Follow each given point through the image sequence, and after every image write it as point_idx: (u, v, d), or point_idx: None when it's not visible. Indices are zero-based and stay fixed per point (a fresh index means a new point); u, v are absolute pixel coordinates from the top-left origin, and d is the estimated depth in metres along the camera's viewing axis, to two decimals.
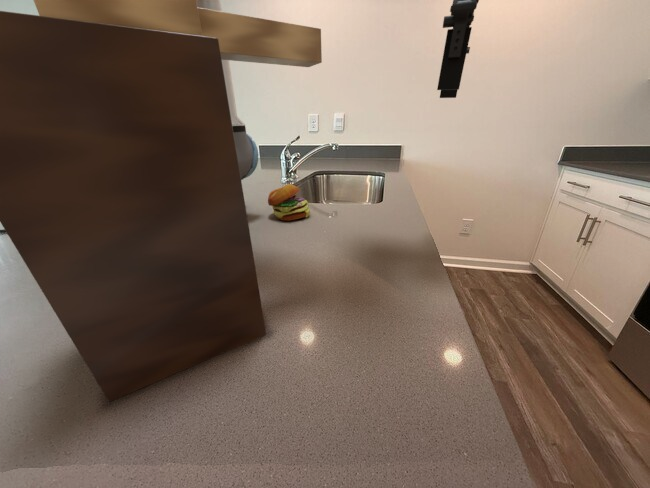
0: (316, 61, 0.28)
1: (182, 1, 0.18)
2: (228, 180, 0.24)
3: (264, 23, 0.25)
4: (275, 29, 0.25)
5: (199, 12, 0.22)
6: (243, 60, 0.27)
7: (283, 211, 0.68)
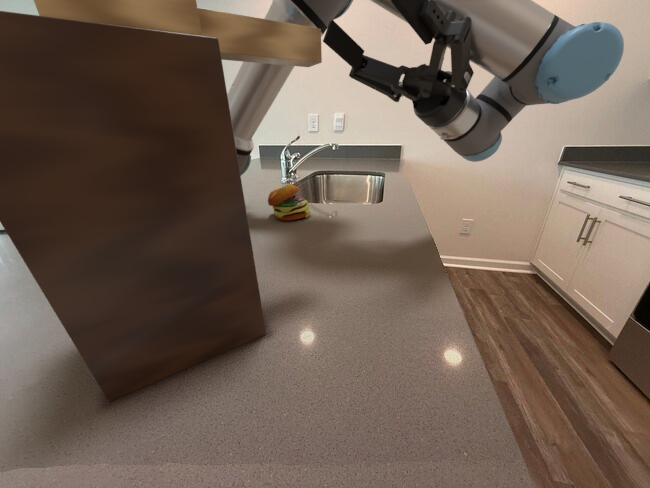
0: (316, 61, 0.28)
1: (182, 1, 0.18)
2: (228, 180, 0.24)
3: (264, 23, 0.25)
4: (275, 29, 0.25)
5: (199, 12, 0.22)
6: (243, 60, 0.27)
7: (283, 211, 0.68)
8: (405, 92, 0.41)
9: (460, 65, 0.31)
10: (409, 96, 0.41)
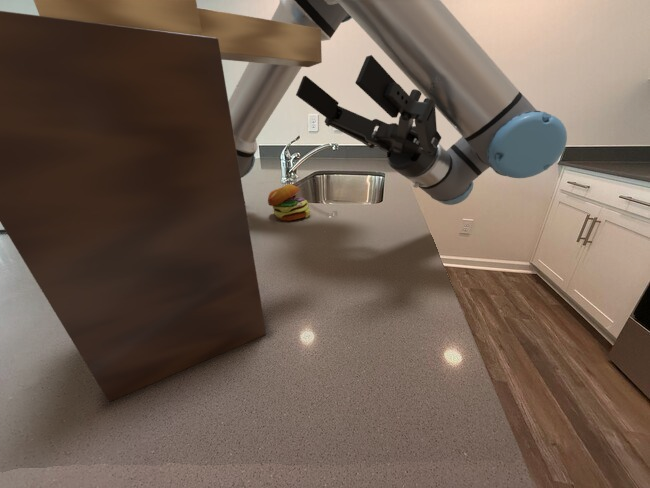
0: (316, 61, 0.28)
1: (182, 1, 0.18)
2: (228, 180, 0.24)
3: (264, 23, 0.25)
4: (275, 29, 0.25)
5: (199, 12, 0.22)
6: (243, 60, 0.27)
7: (283, 211, 0.68)
8: (378, 145, 0.41)
9: (425, 136, 0.32)
10: (382, 148, 0.41)
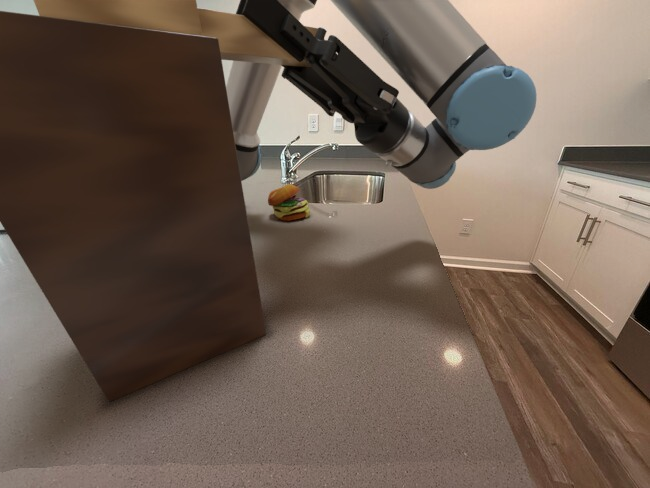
0: None
1: (182, 1, 0.18)
2: (228, 180, 0.24)
3: None
4: None
5: (199, 12, 0.22)
6: (243, 60, 0.27)
7: (283, 211, 0.68)
8: (341, 114, 0.36)
9: (352, 84, 0.27)
10: (345, 119, 0.36)
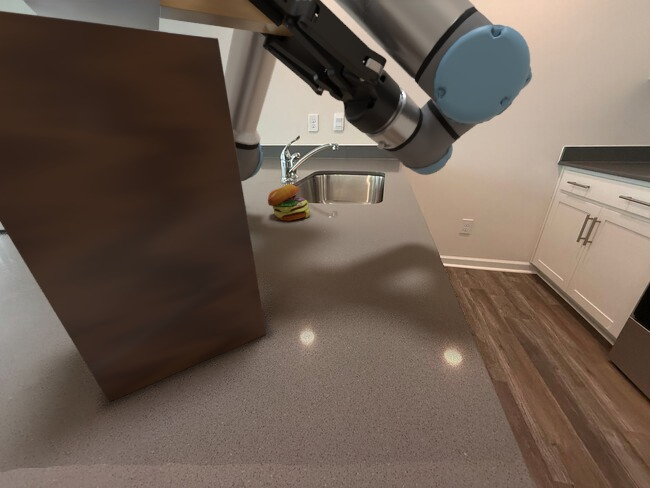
0: None
1: None
2: (228, 180, 0.24)
3: None
4: None
5: None
6: (217, 24, 0.25)
7: (283, 211, 0.68)
8: (328, 91, 0.34)
9: (334, 50, 0.25)
10: (333, 96, 0.34)
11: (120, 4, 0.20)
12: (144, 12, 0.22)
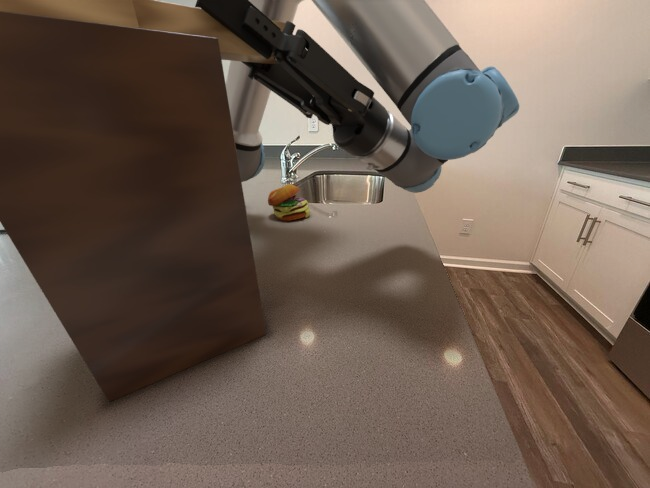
0: None
1: None
2: (228, 180, 0.24)
3: None
4: None
5: (143, 3, 0.20)
6: None
7: (283, 211, 0.68)
8: (316, 115, 0.34)
9: (324, 84, 0.25)
10: (321, 120, 0.34)
11: None
12: None
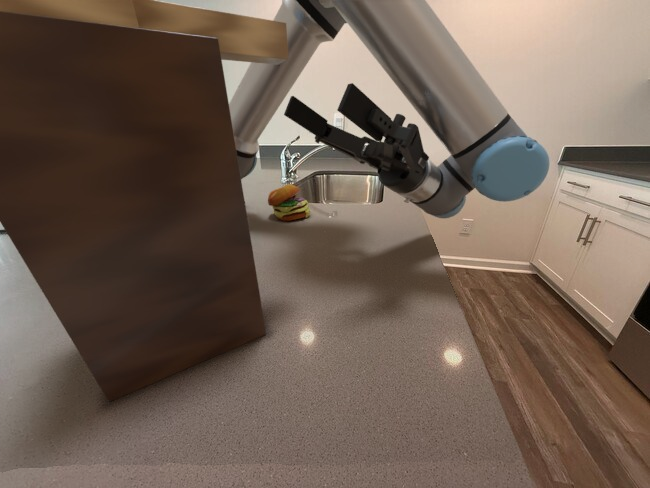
0: (282, 58, 0.26)
1: None
2: (228, 180, 0.24)
3: (220, 16, 0.23)
4: (233, 23, 0.23)
5: (143, 3, 0.20)
6: None
7: (283, 211, 0.68)
8: (367, 162, 0.41)
9: (411, 159, 0.32)
10: (371, 166, 0.41)
11: None
12: None
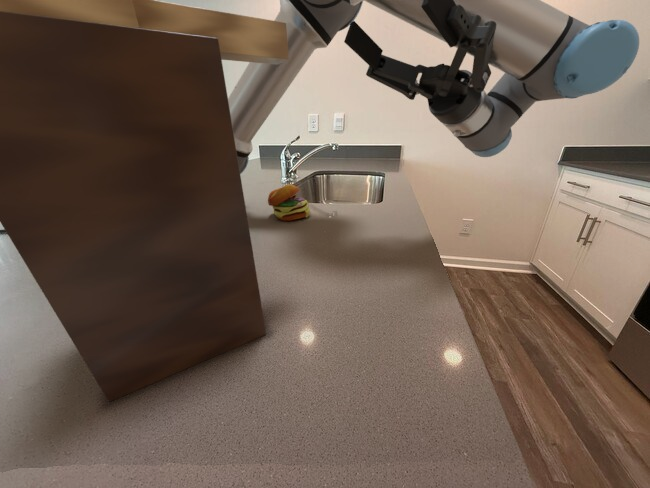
0: (282, 58, 0.26)
1: None
2: (228, 180, 0.24)
3: (220, 16, 0.23)
4: (233, 23, 0.23)
5: (143, 3, 0.20)
6: None
7: (283, 211, 0.68)
8: (422, 91, 0.42)
9: (481, 67, 0.32)
10: (426, 94, 0.42)
11: None
12: None
